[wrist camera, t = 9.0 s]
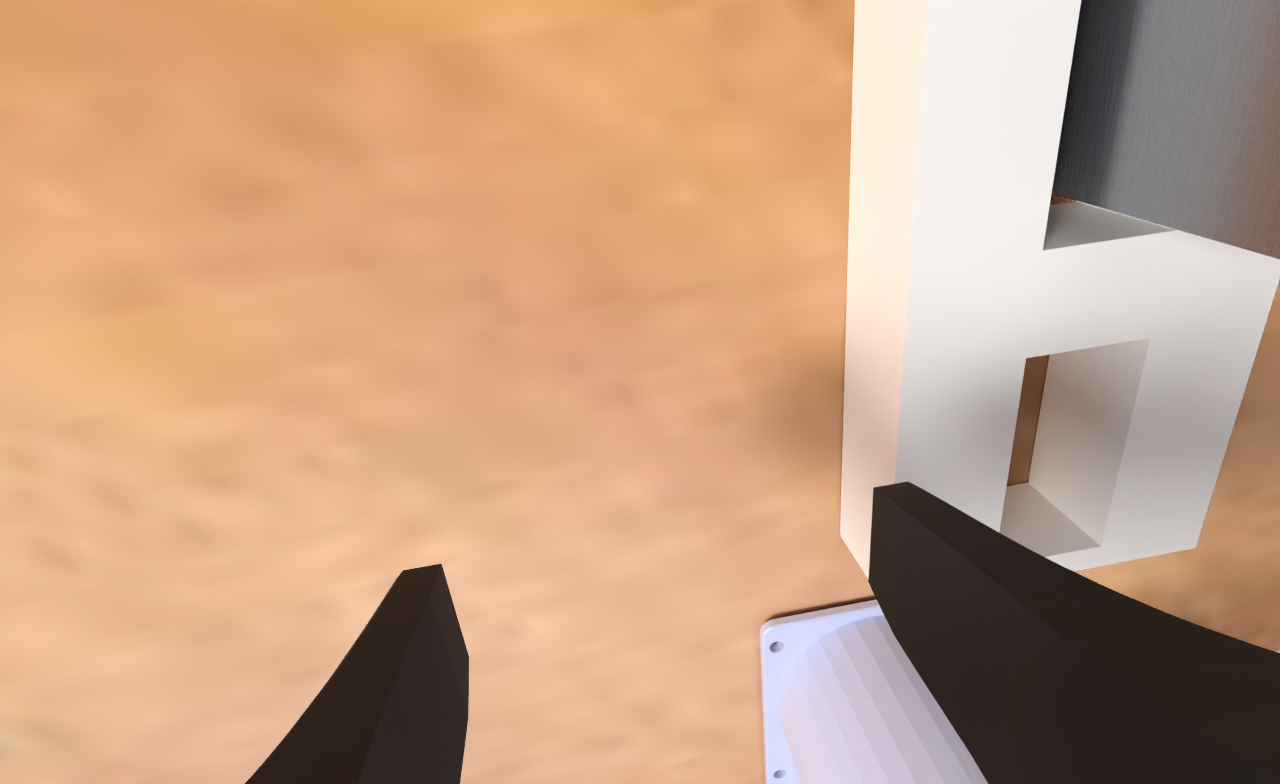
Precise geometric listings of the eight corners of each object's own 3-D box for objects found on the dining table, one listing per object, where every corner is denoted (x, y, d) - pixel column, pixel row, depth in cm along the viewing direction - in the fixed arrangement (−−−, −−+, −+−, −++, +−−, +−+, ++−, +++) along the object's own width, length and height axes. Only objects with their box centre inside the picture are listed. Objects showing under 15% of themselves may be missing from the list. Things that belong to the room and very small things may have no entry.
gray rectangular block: (1058, 165, 20) (1421, 250, 12) (989, 175, 20) (1310, 268, 12) (1090, -45, 18) (1568, -117, 10) (1013, -37, 17) (1432, -102, 9)
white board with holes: (1112, 485, 25) (1195, 547, 22) (840, 534, 24) (886, 607, 21) (1258, -138, 17) (1422, -178, 14) (857, -96, 16) (936, -128, 13)
